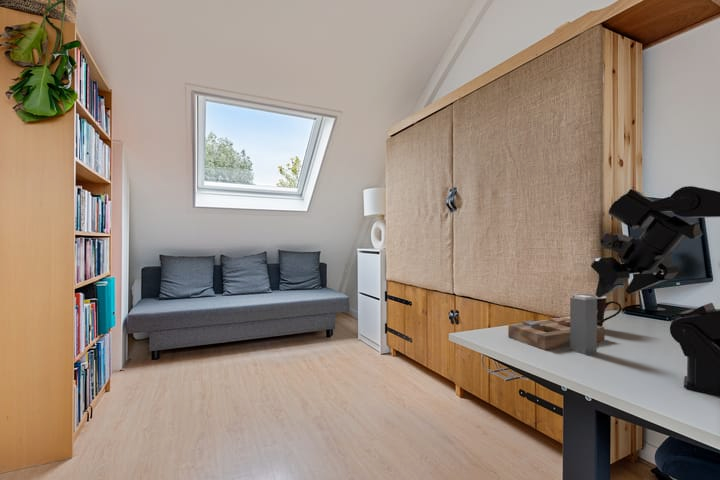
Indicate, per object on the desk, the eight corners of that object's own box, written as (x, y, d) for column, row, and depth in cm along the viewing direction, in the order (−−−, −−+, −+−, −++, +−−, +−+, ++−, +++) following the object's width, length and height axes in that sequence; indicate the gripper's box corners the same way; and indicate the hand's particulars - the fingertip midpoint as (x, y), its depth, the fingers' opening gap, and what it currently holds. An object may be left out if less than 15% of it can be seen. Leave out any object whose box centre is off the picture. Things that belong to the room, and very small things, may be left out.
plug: (596, 352, 88) (597, 296, 88) (585, 354, 87) (585, 298, 86) (581, 347, 92) (581, 294, 92) (570, 349, 90) (570, 295, 90)
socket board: (604, 340, 98) (604, 325, 98) (544, 350, 90) (544, 333, 90) (564, 329, 110) (564, 315, 110) (508, 337, 101) (508, 322, 101)
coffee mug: (568, 328, 111) (568, 295, 110) (578, 323, 116) (579, 292, 116) (613, 336, 102) (613, 301, 102) (622, 331, 107) (622, 297, 107)
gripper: (655, 218, 83) (616, 268, 93) (592, 220, 78) (557, 273, 87) (701, 249, 75) (653, 300, 84) (635, 254, 69) (591, 308, 79)
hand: (612, 294), depth 84 cm, fingers open, 9 cm apart
